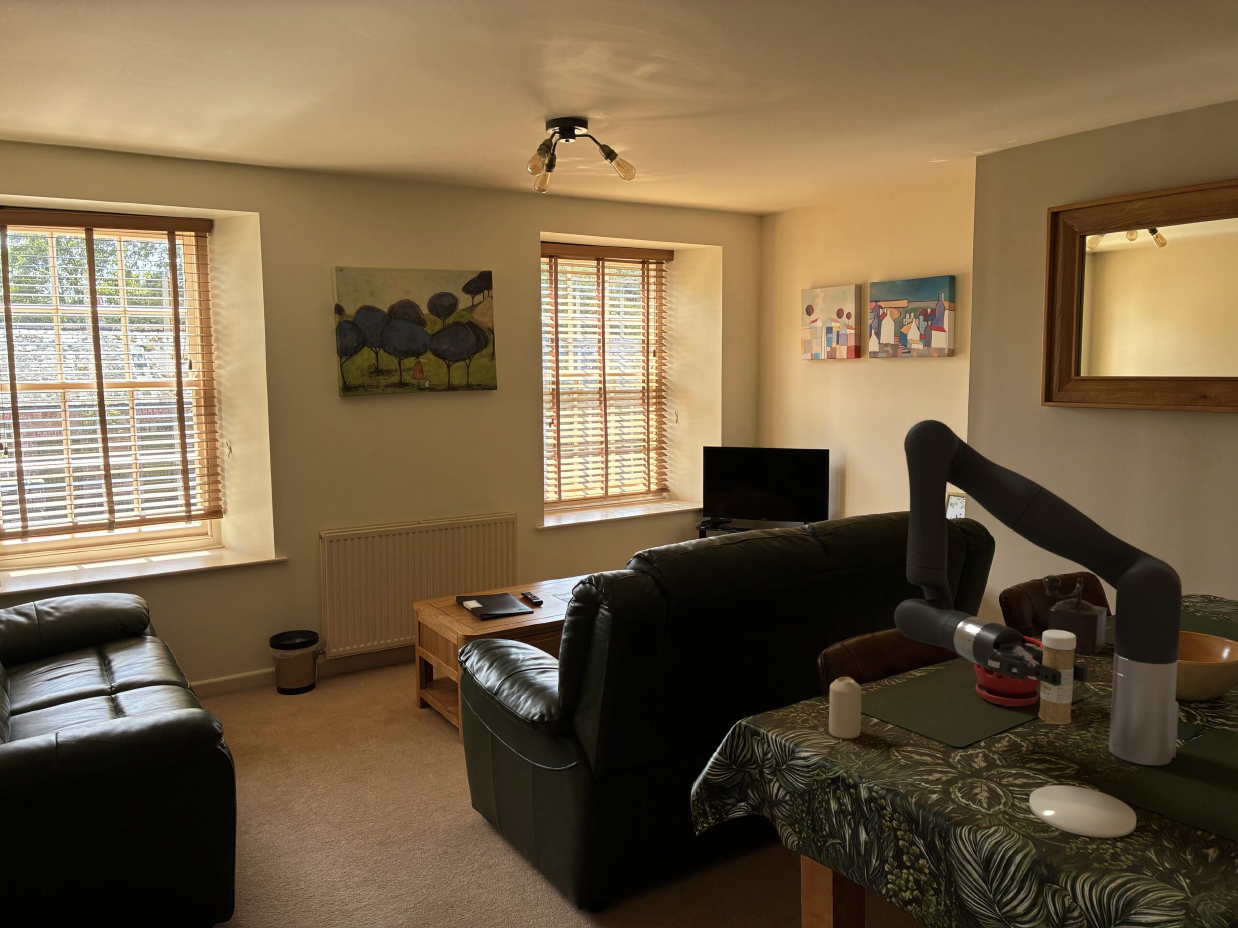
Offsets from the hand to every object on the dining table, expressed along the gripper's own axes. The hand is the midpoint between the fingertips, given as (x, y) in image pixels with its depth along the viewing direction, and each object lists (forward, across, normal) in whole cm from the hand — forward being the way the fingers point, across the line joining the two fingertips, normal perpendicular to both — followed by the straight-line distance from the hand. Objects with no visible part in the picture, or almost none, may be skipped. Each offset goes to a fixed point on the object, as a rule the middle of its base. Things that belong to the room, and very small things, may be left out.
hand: (1072, 677), depth 135 cm
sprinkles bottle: (-3, 0, +8) cm, 8 cm away
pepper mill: (-59, +62, +20) cm, 88 cm away
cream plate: (+3, 0, +20) cm, 20 cm away
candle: (-35, -15, +20) cm, 43 cm away
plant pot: (-39, +25, +20) cm, 50 cm away
